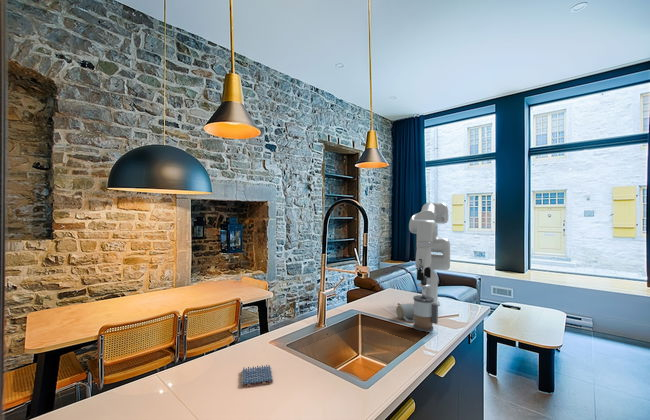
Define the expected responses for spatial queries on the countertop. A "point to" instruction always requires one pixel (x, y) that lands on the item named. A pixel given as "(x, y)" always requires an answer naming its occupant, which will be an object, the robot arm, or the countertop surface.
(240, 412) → the countertop surface
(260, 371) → the blue-grey spiked square pad
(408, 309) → the ceramic mug
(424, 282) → the plunger
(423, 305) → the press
